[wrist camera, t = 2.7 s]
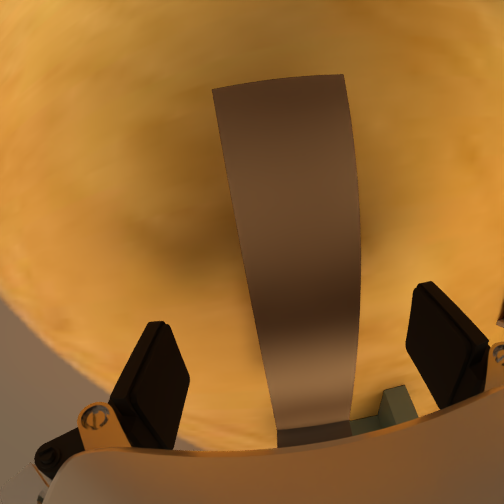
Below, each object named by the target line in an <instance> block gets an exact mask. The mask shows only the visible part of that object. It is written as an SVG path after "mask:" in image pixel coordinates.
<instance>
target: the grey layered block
mask: <svg viewBox="0 0 504 504" xmlns="http://www.w3.org/2000/svg"><path fill="white" fill-rule="evenodd" d="M496 325H498V326H500V327H503V328H504V319H500V320H498V321H497V324H496Z"/></svg>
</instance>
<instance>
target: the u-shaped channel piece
mask: <svg viewBox="0 0 504 504" xmlns="http://www.w3.org/2000/svg"><path fill="white" fill-rule="evenodd" d="M416 418H419V417H418V415H417V412H416V410H415V407H414V405H413V403H412V400H411V398H410V396H409V393H408V391H407V389H406V387H405V385H403V386H399V387H395V388H392V389H388V390H384V393H383V397H382V401H381V405H380V408H379V412H378V415H376V416H372V417H368V418H363V419H359V420H354V421H349V422H350V427H351V431H352V436H356V435H360V434H364V433H368V432H372V431H376V430H380V429H384V428H387V427H391V426H394V425H398V424H401V423H404V422H407V421H410V420H413V419H416Z"/></svg>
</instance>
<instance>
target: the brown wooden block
mask: <svg viewBox="0 0 504 504" xmlns="http://www.w3.org/2000/svg"><path fill="white" fill-rule="evenodd" d="M212 93H213V99H214V104H215V110H216V116H217V121H218V127H219V133H220V138H221V144H222V149H223V155H224V160H225V166H226V171H227V177H228V182H229V188H230V193H231V198H232V204H233V209H234V214H235V220H236V225H237V230H238V236H239V241H240V246H241V251H242V257H243V262H244V267H245V272H246V278H247V283H248V288H249V293H250V298H251V303H252V308H253V313H254V318H255V324H256V329H257V334H258V339H259V344H260V349H261V354H262V359H263V364H264V369H265V373H266V378H267V383H268V388H269V393H270V398H271V403H272V408H273V413H274V417H275V422H276V427H277V448H284V447H292V446H300V445H307V444H314V443H320V442H326V441H332V440H337V439H342V438H347V437H351V436H352V431H351V427H350V422H349V416H350V410H351V403H352V395H353V387H354V379H355V369H356V359H357V347H358V334H359V317H360V290H361V238H360V211H359V193H358V180H357V168H356V158H355V148H354V139H353V131H352V124H351V117H350V110H349V103H348V97H347V91H346V86H345V80H344V75H343V74H337V75H315V76H301V77H290V78H280V79H272V80H264V81H257V82H250V83H244V84H238V85H233V86H227V87H222V88H217V89H212Z"/></svg>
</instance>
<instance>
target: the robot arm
mask: <svg viewBox="0 0 504 504" xmlns="http://www.w3.org/2000/svg"><path fill="white" fill-rule="evenodd" d="M488 342H489V340H488V339H487V337H486V336H485V335H484V334H483V333H482V332H481V331H480V330H479V329H478V328H477V326H476V325H475V324H474V323H473V322H472V321H471V320H470V319H469V318H468V317H467V316H466V315H465V314H464V313H463V312H462V311H461V310H460V308H459V307H458V306H457V305H456V304H455V303H454V302H453V301H452V300H451V299H450V298H449V297H448V296H447V295H446V294H445V293H444V292H443V291H442V290H441V289H440V288H438V287H437V286H436V285H435V284H434V283H433V282H432V281H429V282H424V283H420V284H418V285H417V287H416V288H415V289H414V290H413V297H412V305H411V312H410V319H409V326H408V332H407V338H406V350H407V352H408V354H409V355H410V357H411V359H412V361H413V362H414V364H415V366H416V367H417V369H418V371H419V373H420V374H421V376H422V378H423V380H424V382H425V383H426V385H427V387H428V389H429V391H430V392H431V394H432V396H433V398H434V400H435V402H436V404H437V405H438V407H439V409H440V410H438V411H436V412H433V413H431V414H428V415H425V416H422V417H419V418H416V419H413V420H410V421H407V422H404V423H401V424H398V425H394V426H391V427H387V428H384V429H380V430H376V431H372V432H368V433H364V434H360V435H356V436H351V437H347V438H342V439H337V440H332V441H326V442H320V443H314V444H307V445H300V446H292V447H284V448H273V449H262V450H245V451H182V450H173V448H174V444H175V440H176V436H177V432H178V428H179V424H180V419H181V415H182V411H183V407H184V403H185V399H186V395H187V391H188V387H189V383H190V377H189V373H188V371H187V368H186V366H185V363H184V361H183V358H182V356H181V353H180V351H179V348H178V346H177V343H176V341H175V338H174V335H173V333H172V330H171V327H170V326H169V325H168V324H165V322H164V321H155V322H149V323H148V324H147V326H146V328H145V330H144V331H143V333H142V335H141V337H140V339H139V341H138V343H137V345H136V346H135V348H134V350H133V352H132V354H131V356H130V358H129V360H128V362H127V364H126V366H125V368H124V369H123V371H122V373H121V375H120V377H119V379H118V381H117V383H116V385H115V387H114V389H113V391H112V393H111V395H110V400H109V402H108V404H107V403H104V402H95V403H92V404H90V405H88V406H86V407H85V408H84V409H83V410H82V411H81V412H80V414H79V416H78V419H77V424H78V427H77V428H75V429H73V430H71V431H69V432H67V433H65V434H63V435H61V436H60V437H57V438H55V439H53V440H51V441H49V442H47V443H45V444H43V445H42V446H41V447H40V448H39V449H38V450H37V452H36V454H35V458H34V459H35V464H32V463H31V462H30V463H29V464H28V465H27V466H25V467H24V468H23V469H22V470H21V471H19V472H18V473H17V474H16V475H15V476H13V477H12V478H11V479H10V480H8V481H7V482H6V483H5V484H4V485H3V486H2V487H1V490H0V499H1V502H2V504H504V342H498V343H495V344H494V345H492V347H490V346H489V345H488Z"/></svg>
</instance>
